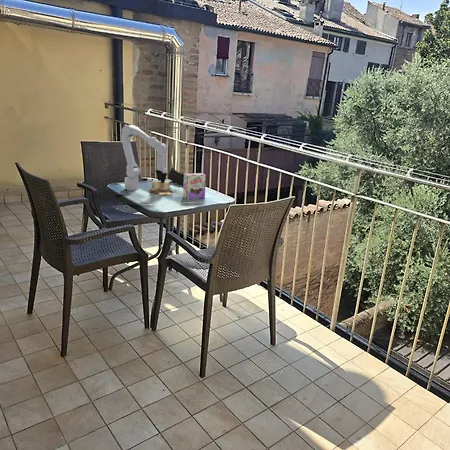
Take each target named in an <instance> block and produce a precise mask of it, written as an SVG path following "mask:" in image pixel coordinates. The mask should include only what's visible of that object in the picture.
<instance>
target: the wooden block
mask: <svg viewBox="0 0 450 450" xmlns="http://www.w3.org/2000/svg"><path fill="white" fill-rule="evenodd" d="M151 188H152V190H171V181H170V180H169V181H165V182H164V183H161V181H151Z"/></svg>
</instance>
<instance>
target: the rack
mask: <svg viewBox="0 0 450 450" xmlns="http://www.w3.org/2000/svg"><path fill="white" fill-rule="evenodd" d="M168 192H170V193H171V194H172V193H173V194H174V191H173V190H172V189H170V190H152V189H149V190H148V193H150V194H158V193H168Z"/></svg>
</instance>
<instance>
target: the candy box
mask: <svg viewBox="0 0 450 450" xmlns="http://www.w3.org/2000/svg"><path fill="white" fill-rule="evenodd" d="M183 174H184V185H183V186H182V187H183V188H182V189H183V190H182V191H183V192H182V197H183V198H185V199H186V200H187V199H199V200H202V199H206V198H205V197H206V179H207V175H206V174H205V173H197V172H196V173H183Z"/></svg>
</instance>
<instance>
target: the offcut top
mask: <svg viewBox="0 0 450 450" xmlns="http://www.w3.org/2000/svg"><path fill="white" fill-rule="evenodd" d="M157 195H159V196H158V197H165V196H167V195H170V196H172V193H170V192H168V193H157ZM167 197H168V196H167Z"/></svg>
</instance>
